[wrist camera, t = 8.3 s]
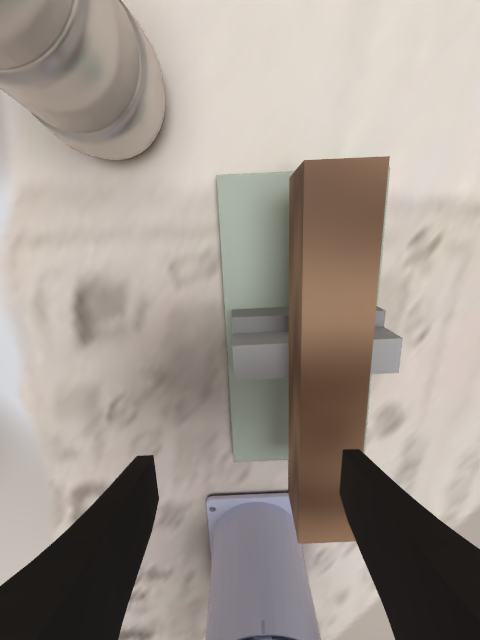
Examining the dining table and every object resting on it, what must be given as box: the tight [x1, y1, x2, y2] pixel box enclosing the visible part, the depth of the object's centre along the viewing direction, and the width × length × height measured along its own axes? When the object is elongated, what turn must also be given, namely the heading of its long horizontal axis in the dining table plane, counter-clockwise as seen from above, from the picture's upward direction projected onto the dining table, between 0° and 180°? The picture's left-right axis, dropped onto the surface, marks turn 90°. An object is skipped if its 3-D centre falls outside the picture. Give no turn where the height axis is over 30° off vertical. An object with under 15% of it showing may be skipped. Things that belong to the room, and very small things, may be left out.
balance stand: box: [217, 167, 403, 462], centre depth 18 cm, size 20×10×5 cm, turn 2°
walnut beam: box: [288, 156, 390, 544], centre depth 14 cm, size 18×3×3 cm, turn 3°
